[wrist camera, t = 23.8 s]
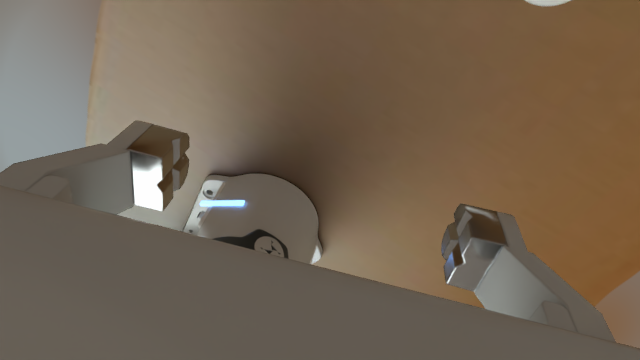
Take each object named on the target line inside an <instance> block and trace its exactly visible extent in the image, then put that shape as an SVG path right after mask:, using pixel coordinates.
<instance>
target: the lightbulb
mask: <svg viewBox="0 0 640 360" xmlns="http://www.w3.org/2000/svg"><path fill="white" fill-rule="evenodd" d="M524 1H526V2H528V3H530V4H533V5H537V6H556V5H561V4H564V3H567V2H569V1H572V0H524Z"/></svg>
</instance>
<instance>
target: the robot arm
mask: <svg viewBox="0 0 640 360" xmlns="http://www.w3.org/2000/svg"><path fill="white" fill-rule="evenodd" d="M188 148H189V136H188V134H187V133H184V132H180V131H176V130H173V129H169V128H165V127H162V126H158V125H154V124H151V123H147V122H143V121H134V122H133V123H132V124H131V125H129V126H128V127H127V128H126V129H125V130H124V131H122V132H121V133H120V134H119V135H118V136H116V137H115V138H114V139H113V140H112V141H110V142H109V143H108V144H107V145H105V144H97V145H93V146H89V147H84V148H80V149H75V150H72V151H67V152H62V153H58V154H54V155H49V156H45V157H40V158H36V159H32V160H27V161H23V162H18V163H14V164H12V165H11V166H9V167H8V168H7V169H5V170H4V171H2V172H1V173H0V360H640V348H636V347H632V346H628V345H624V344H620V343H616V341H615V339H614V337H613V335H612V333H611V331H610V329H609V328H608V325H607V323H606V321H605V320H604V317H603V315H602V314H601V313H600V312H599V311H598V310H596V308H595V307H593V306H592V305H591V304H590V303H589V302H588V301H587V300H586V299H584V298H583V297H582V296H581V295H580V294H579V293H578V292H576V291H575V290H574V289H573V288H572V287H571V286H570V285H569V284H567V283H566V282H565V281H564V280H563V279H562V278H561V277H559V276H558V275H557V274H556V273H555V272H554V271H553V270H552V269H550V268H549V267H548V266H547V265H546V264H545V263H544V262H542V261H541V260H540V259H539V258H538V257H537V256H536V255H535V254H533V253H530V252H528V251H527V248H526V246H525V243H524V240H523V238H522V235H521V233H520V230H519V228H518V225H517V222H516V220H515V217H514V216H513V215H511V214H507V213H502V212H497V211H492V210H488V209H483V208H479V207H475V206H470V205H466V204H461V203H460V204H459V206H458V207H457V208H456V210H455V212H454V219H455V222H453V223H451V224H450V225H448V226H447V229H446V231H445V233H444V236H443V240H442V248H441V250H442V256H443V257H444V258H445V260H446V263H445V265H444V273H445V280H446V284H449V285H452V286H456V287H459V288H463V289H466V290H470V291H473V292H475V294H476V296H477V297H478V299H479V300H480V301H481V303H482V304H483V306H484V307H485V309H484V308H480V307H476V306H472V305H468V304H464V303H460V302H456V301H452V300H448V299H444V298H440V297H436V296H433V295H429V294H425V293H421V292H417V291H413V290H409V289H405V288H401V287H397V286H393V285H389V284H385V283H382V282H378V281H374V280H370V279H366V278H362V277H358V276H354V275H350V274H346V273H342V272H338V271H334V270H331V269H327V268H323V267H319V266H315V265H311V264H313V263H315V262H317V261H318V260H320V258H321V256H322V253H323V250H322V246H321V244H320V242H319V239H318V226H319V223H318V216H317V212H316V210H315V208H314V206H313V204H312V202H311V201H310V199H309V198H308V197H307V196H306V195H305V194H304V193H303V192H302V191H301V190H300V189H299V188H297V187H296V186H295V185H293V184H291V183H290V182H288V181H286V180H284V179H281V178H278V177H275V176H272V175H267V174H245V175H240V176H235V177H227V176H221V175H209V176H208V177H206V179H205V181H204V183H203V186H202V188H201V190H200V193H199V195H198V197H197V200H196V202H195V205H194V207H193V209H192V212H191V214H190V216H189V219H188V221H187V224H186V226H185V228H184V231H183V232H182V231H178V230H174V229H170V228H166V227H162V226H158V225H154V224H150V223H146V222H142V221H139V220H135V219H131V218H127V217H123V216H119V215H117V214H119V213H121V212H123V211H125V210H127V209H129V208H131V207H133V206H134V205H136V206H141V207H145V208H149V209H154V210H158V211H164V209H165V208H166V207H167V205H168V204H169V203H170V201H171V200H172V199H173V191H176V190H178V189H180V188H181V186H182V185H183V184H184V181H185V179H186V176H187V173H188V168H189V159H188V157H187V156H186V154H185V152H186V151H187V149H188ZM209 190H211V191H212V192H211V191H209Z"/></svg>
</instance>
